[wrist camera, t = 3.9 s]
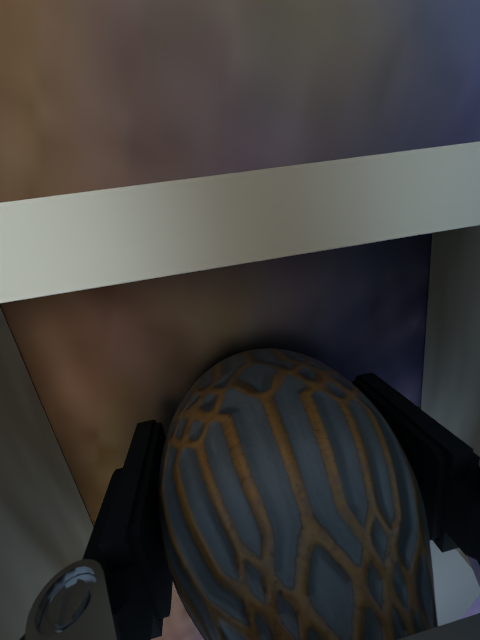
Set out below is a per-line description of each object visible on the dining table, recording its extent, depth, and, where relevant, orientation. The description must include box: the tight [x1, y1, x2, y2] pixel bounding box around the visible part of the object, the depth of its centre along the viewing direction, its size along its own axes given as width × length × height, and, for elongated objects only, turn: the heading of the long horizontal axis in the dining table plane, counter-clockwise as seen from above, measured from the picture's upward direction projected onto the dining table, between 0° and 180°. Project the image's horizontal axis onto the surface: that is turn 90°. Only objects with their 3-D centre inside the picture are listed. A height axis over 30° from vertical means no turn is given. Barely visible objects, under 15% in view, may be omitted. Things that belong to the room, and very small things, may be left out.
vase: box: [158, 348, 438, 640], centre depth 8 cm, size 7×7×9 cm
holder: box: [0, 141, 480, 640], centre depth 9 cm, size 18×16×6 cm
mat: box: [430, 540, 480, 626], centre depth 17 cm, size 12×12×1 cm
